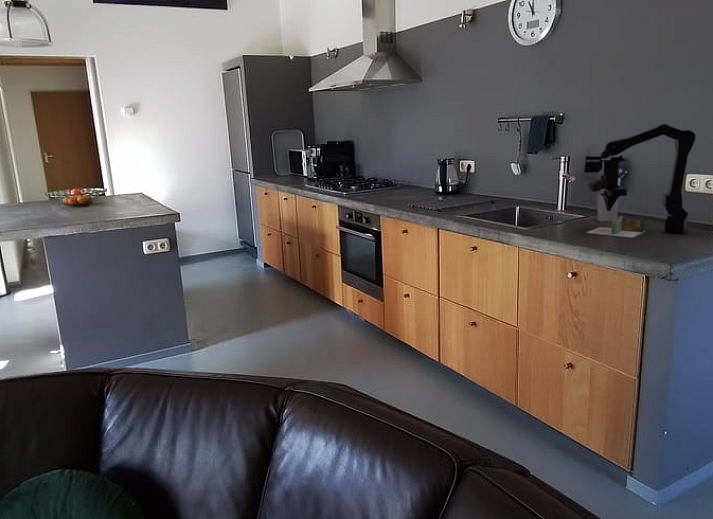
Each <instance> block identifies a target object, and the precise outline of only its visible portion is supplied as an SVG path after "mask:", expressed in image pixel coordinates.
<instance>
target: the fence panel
mask: <svg viewBox="0 0 713 519" xmlns="http://www.w3.org/2000/svg"><path fill="white" fill-rule="evenodd" d="M623 220H624V216H622V215H621V216H620V215H619V216H618V218H617V220H615V219H613V220H612V222H611V227H610V228H611V234H615V233H617V232H619V231H621V230H622V221H623Z"/></svg>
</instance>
